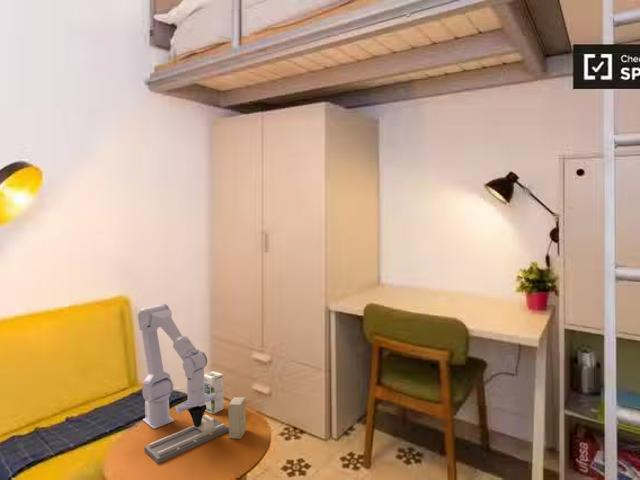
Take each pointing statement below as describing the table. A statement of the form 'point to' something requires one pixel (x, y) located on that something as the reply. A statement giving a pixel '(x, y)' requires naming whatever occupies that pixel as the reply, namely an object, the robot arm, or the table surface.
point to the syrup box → (214, 391)
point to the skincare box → (237, 417)
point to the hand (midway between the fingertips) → (197, 425)
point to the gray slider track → (183, 441)
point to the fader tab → (206, 423)
